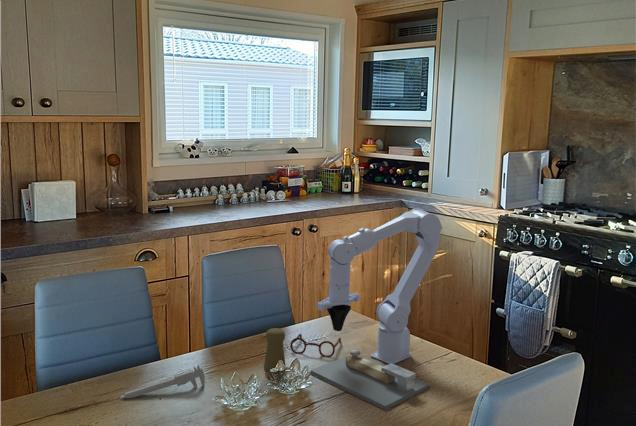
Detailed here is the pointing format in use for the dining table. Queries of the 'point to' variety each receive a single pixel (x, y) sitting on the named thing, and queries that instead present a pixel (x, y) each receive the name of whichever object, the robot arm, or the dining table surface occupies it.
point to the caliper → (169, 383)
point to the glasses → (313, 344)
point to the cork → (274, 348)
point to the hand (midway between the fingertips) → (337, 330)
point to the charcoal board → (366, 384)
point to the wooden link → (367, 367)
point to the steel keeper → (401, 376)
